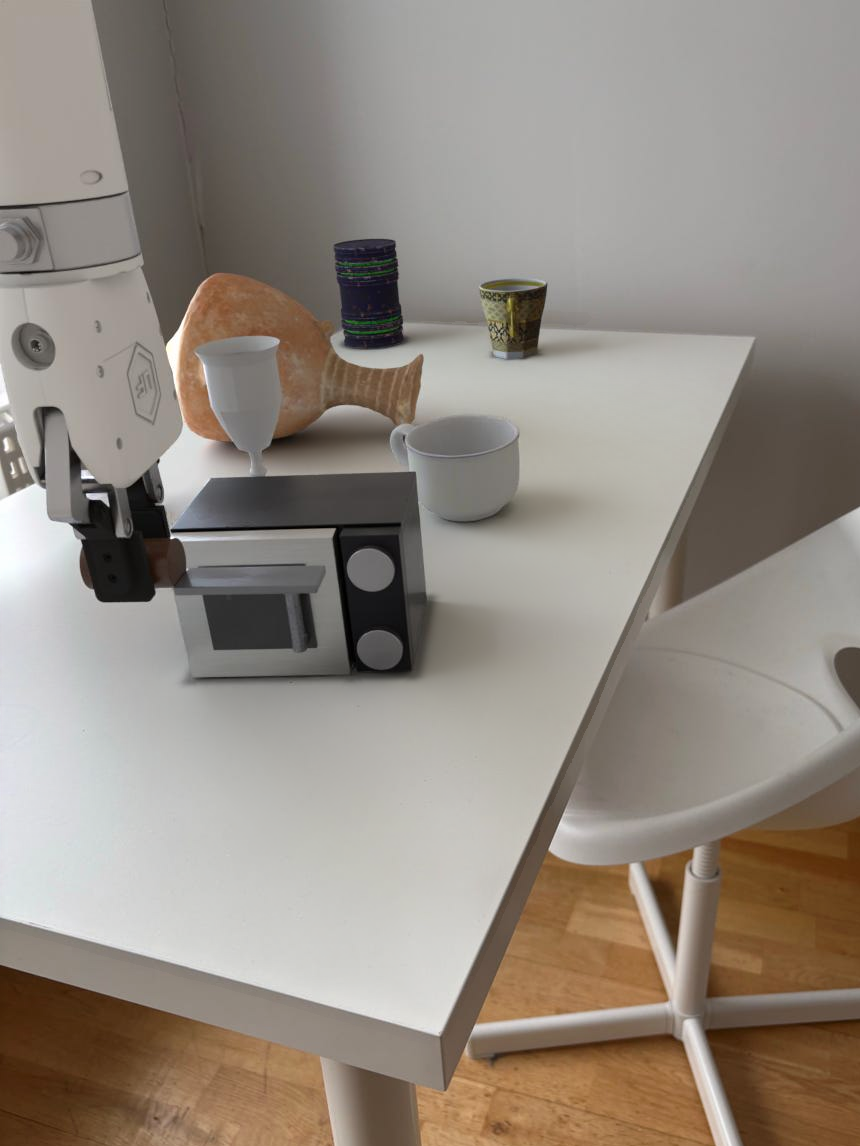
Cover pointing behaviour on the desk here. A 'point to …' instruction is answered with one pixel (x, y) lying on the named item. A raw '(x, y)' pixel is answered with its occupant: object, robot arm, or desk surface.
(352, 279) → the storage jar
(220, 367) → the chalice
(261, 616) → the microwave door
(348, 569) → the microwave
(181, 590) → the knife
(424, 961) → the desk surface
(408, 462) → the teacup
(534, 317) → the ceramic cup
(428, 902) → the desk surface
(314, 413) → the jug
